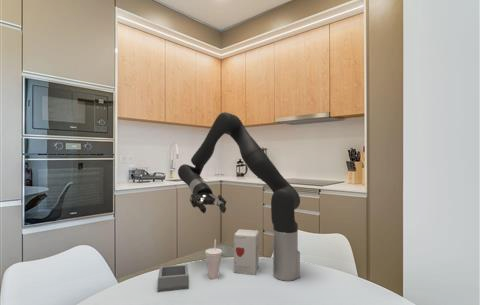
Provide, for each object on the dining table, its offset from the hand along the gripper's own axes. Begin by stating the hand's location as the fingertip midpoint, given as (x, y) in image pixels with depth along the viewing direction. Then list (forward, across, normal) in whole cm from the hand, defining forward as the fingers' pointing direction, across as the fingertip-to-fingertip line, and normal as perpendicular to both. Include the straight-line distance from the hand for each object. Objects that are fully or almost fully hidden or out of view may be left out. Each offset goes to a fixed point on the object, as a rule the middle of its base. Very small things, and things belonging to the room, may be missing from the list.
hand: (215, 211), depth 100 cm
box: (+9, -13, +24) cm, 29 cm away
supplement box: (+11, +16, +20) cm, 28 cm away
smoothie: (+11, +1, +22) cm, 25 cm away
